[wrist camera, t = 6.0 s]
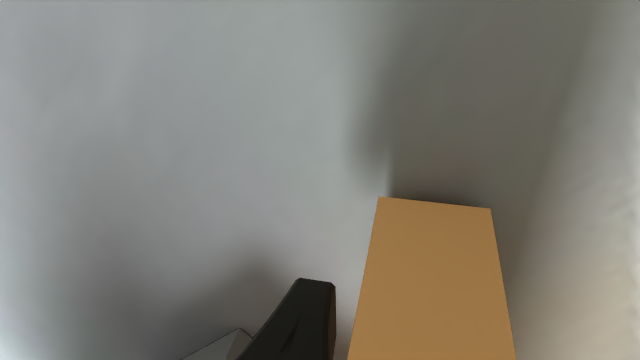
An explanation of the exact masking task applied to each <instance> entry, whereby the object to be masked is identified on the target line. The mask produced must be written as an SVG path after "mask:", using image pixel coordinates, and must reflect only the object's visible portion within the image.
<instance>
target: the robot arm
mask: <svg viewBox="0 0 640 360" xmlns="http://www.w3.org/2000/svg"><path fill="white" fill-rule="evenodd" d="M335 340H336V294H335V286H334V285H333V284H332V283H331V282H324V281H317V280H310V279H304V278H299V279H297V280H296V281H295V282H294V284H293V285H292V287H291V288H290V290H289V291H288V293H287V294H286V296H285V297H284V298H283V300H282V301H281V303H280V304H279V305H278V307H277V308H276V310H275V311H274V312H273V313H272V315H271V316H270V317H269V319H268V320H267V321H266V323H265V324H264V325H263V326H262V328H261V329H260V330H259V331H258V333H257V334H256V335H255V336H254V338H253V339H252V340H251V341H250V343H249V344H248V345H247V346H246V347H245V349H244V350H243V351H242V352H241V353H240V355H239V356H238V357H237V358H236V359H235V360H333V354H334V347H335Z"/></svg>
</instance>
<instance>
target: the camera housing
mask: <svg viewBox="0 0 640 360" xmlns="http://www.w3.org/2000/svg"><path fill="white" fill-rule="evenodd" d="M252 339H253V338H251V337H250V336H249V335H247V334H246V333H245V332H244V331H242V330H241V329H240V328H239V329H237V330H235V331H233V332H231V333H229V334H228V335H226V336H224V337H222V338H220V339H219V340H217V341H215V342H213V343H211V344H209V345H208V346H206V347H204V348H202V349H200V350H198V351H197V352H195V353H193V354H191V355H189V356H188V357H186V358H184V359H182V360H235V359H236V358H237V357H238V356H239V355H240V353H241V352H242V351H243V350H244V349H245V347H246V346H247V345H248V344H249V343H250V341H251V340H252Z"/></svg>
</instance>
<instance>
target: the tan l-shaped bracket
mask: <svg viewBox="0 0 640 360" xmlns="http://www.w3.org/2000/svg"><path fill="white" fill-rule="evenodd" d="M347 360H517V359H516V353H515V348H514V342H513V336H512V330H511V324H510V319H509V313H508V307H507V301H506V295H505V290H504V284H503V278H502V272H501V266H500V260H499V255H498V249H497V243H496V237H495V231H494V226H493V220H492V214H491V209H489V208H480V207H471V206H462V205H453V204H444V203H435V202H426V201H417V200H407V199H398V198H389V197H380V196H379V199H378V204H377V209H376V214H375V219H374V224H373V229H372V234H371V240H370V245H369V250H368V255H367V260H366V265H365V270H364V275H363V281H362V286H361V291H360V296H359V301H358V306H357V311H356V316H355V321H354V327H353V332H352V337H351V342H350V347H349V352H348V357H347Z"/></svg>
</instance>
